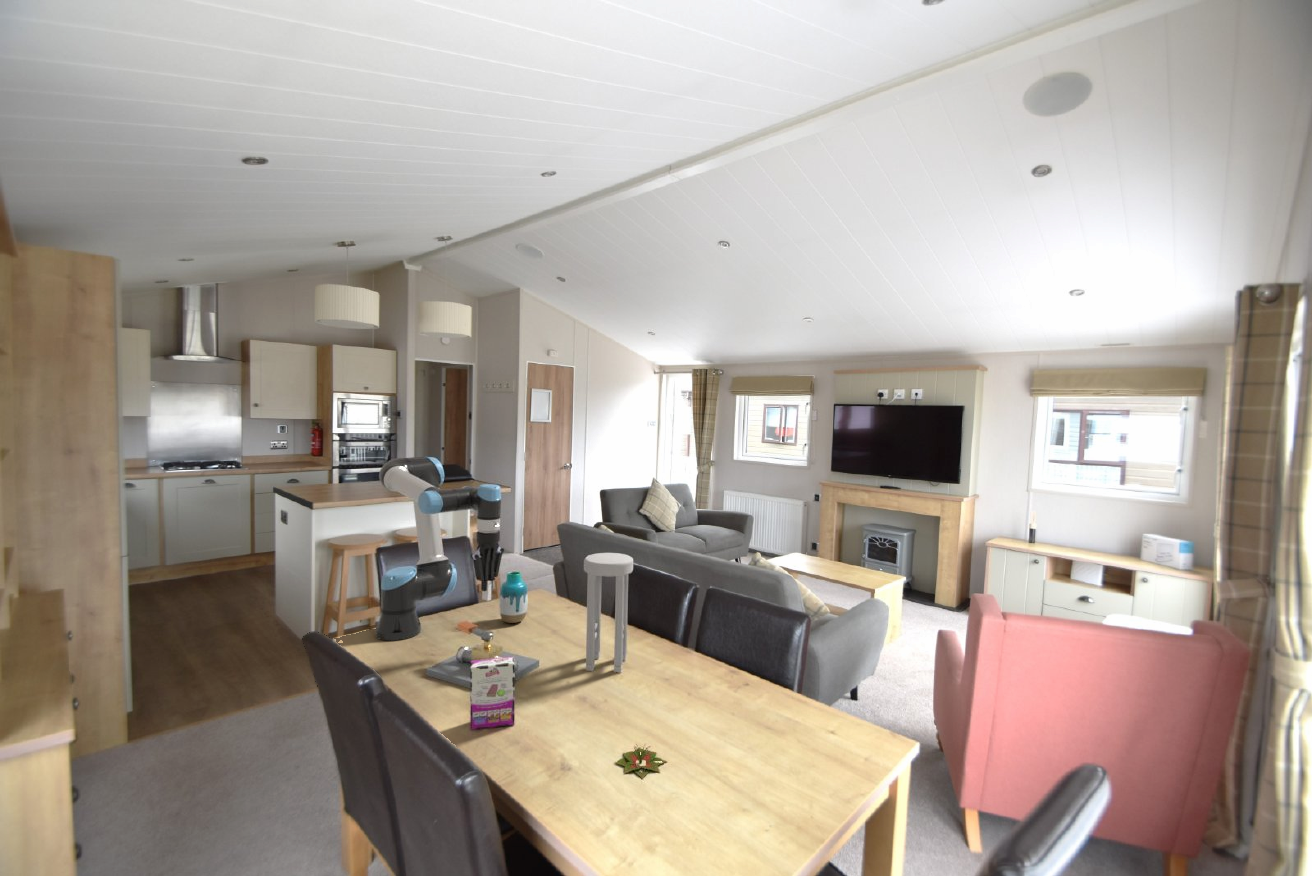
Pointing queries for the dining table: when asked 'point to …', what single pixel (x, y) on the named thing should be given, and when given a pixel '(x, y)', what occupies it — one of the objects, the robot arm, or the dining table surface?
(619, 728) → the dining table surface
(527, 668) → the valve board
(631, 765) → the lily flower
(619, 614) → the stool
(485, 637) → the valve lever
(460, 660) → the valve pipe
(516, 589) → the vase
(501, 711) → the candy bar box
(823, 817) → the dining table surface
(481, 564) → the robot arm
